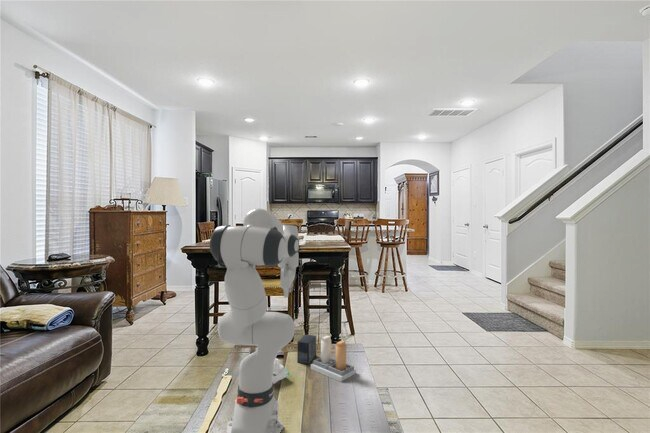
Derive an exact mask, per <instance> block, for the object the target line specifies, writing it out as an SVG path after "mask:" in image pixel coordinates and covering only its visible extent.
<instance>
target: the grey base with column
mask: <svg viewBox="0 0 650 433" xmlns="http://www.w3.org/2000/svg"><path fill="white" fill-rule="evenodd" d="M310 370H312V371H315V372H317V373H318V374H322V375H324V376H327V377H328V378H331V379H333V380H335V381H338V382H343V381H345V380H347V379H348V378H350V377H352V376H354V375H356V374H357V368H355V365H352V364H349V363H347V362H346V369H345V370H343V371H340V370H338V369H336V358H333V357H332V339H331V336H330V335H328V334H327V335H325V336H322V337H321V339H320V357H317V358H316V359H313V360H312V363H310Z"/></svg>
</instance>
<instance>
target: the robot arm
mask: <svg viewBox="0 0 650 433" xmlns="http://www.w3.org/2000/svg"><path fill="white" fill-rule="evenodd" d="M242 222H243V225H230V224H226V225H221V226H220V225H219V226H217V227H216V228H215V229H214V230H213V232H212V233H211V235H210V240H209V250H210V253H211V255H212V256H213V259H214V260H215V261H217V265H218V266H219V267H220V268H223V269H224V268H226V272H225V275H224V290H225V295H226V299H227V301H228V305H229V307H230V310H229V311H227V312H225V313H224V314H223V315H222V316H221V318H220V319H219V321H218V324H217V334H218V337H219V339H220V341H222V342H223V343H226V344H232V345H237V346H256V347H257V350H256V351H254V352H252V353H250V354H248V355H246V356H245V357H244V358H242V360H241V361H240V364H239V368H238V369H239V370H238V371H239V373H238V375H239V376H238V378H239V379H238V381H239V382H238V385H237V391H236V399H235V400H234V410H233V416H231V417H230V421H228V422H227V426H226V432H225V433H280V432H281V433H282V431H283V429H284V423H283V422H282V421H281V420H279V419H280V418H279V402H278V400H277V399H276V398H275V396H274V395H275V386H274V385H275V384H273V375H274V374H273V366H274V361H275V358H277V356H278V354H279V352H280V351H281V350H282V349H283V348H284V347H285V346H287V345H289V343H291V341H292V340H293V339H294V336H295V333H296V324H295V321H294V319H293V318H292V316H291V315H290V314H287V313H283V312H278V311H267V310H268V305H269V303H268V298H267V293H266V290H265V286H264V283H263V280H262V278H261V276H260V274H259V272H258V270H257V269H256V266H265V267H276V266H278V268H280V284H279V285H280V289H282V290H283V298H285V299H288V297H289V296H290V295H289V294H290V293H291V292H292V288H293V287H292V286H293V282H294V281H295V278H296V272H297V271H296V270H297V267H299V259H300V258H299V254H300V253H299V250H300V240H299V230H298V226H296V225H295V224H288V223H287V224H283V223H282V221H281V220H280V218H278V217H277V216H276V215H275V214H274V213H272V212H270V210H267V209H265V208H255V209H252V210H250V211H248V212H247V213H246V214H245V216H244V218H243V221H242ZM281 430H282V431H281Z"/></svg>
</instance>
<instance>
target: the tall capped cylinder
mask: <svg viewBox="0 0 650 433" xmlns="http://www.w3.org/2000/svg"><path fill="white" fill-rule="evenodd" d="M335 359H336V369H338V370H340V371H343V370H345V369H346V363H347V344H346V340H343V339H342V340H340V341H337V342H336V344H335Z"/></svg>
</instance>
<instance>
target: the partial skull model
mask: <svg viewBox="0 0 650 433" xmlns="http://www.w3.org/2000/svg"><path fill="white" fill-rule="evenodd" d="M289 375H290V372H289V371H288V370H287V369H285V366H284V365H283V364H281V361H280V359H278V358H277V357H276V358H275V361H274V366H273V384H274V385H275V384H276V383H277V382H278V381H279V382H280V381H281V380H283V379H284V378H286V377H288V376H289Z"/></svg>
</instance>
